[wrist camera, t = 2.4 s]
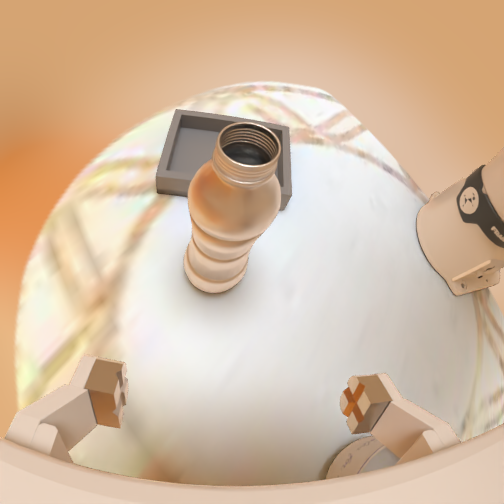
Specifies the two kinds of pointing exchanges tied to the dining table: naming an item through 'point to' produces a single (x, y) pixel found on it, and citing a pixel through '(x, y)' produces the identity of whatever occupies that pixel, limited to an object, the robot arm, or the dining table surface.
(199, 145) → the tray
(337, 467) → the teacup
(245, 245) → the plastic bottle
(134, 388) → the dining table surface
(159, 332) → the dining table surface
